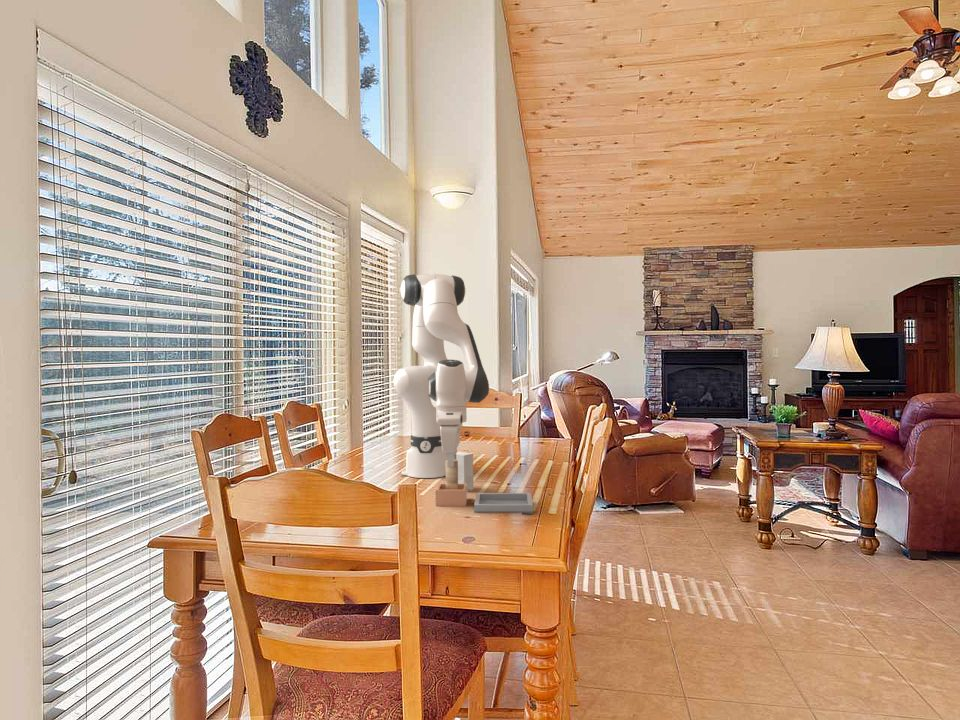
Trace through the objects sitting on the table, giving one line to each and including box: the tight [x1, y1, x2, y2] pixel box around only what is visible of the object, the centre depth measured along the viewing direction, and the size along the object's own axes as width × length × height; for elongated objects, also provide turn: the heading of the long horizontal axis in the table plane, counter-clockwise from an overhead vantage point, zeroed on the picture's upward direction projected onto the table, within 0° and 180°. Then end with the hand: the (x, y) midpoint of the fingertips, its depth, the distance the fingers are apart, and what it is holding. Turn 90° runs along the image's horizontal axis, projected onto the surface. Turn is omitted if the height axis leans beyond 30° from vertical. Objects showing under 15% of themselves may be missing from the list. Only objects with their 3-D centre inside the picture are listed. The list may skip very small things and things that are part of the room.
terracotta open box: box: [435, 483, 469, 507], centre depth 184 cm, size 9×9×5 cm
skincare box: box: [456, 451, 474, 493], centre depth 199 cm, size 6×4×12 cm
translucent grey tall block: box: [445, 460, 458, 490], centre depth 183 cm, size 4×4×12 cm
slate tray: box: [473, 492, 534, 515], centre depth 179 cm, size 14×16×2 cm
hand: (452, 463), depth 183 cm, fingers open, 8 cm apart
